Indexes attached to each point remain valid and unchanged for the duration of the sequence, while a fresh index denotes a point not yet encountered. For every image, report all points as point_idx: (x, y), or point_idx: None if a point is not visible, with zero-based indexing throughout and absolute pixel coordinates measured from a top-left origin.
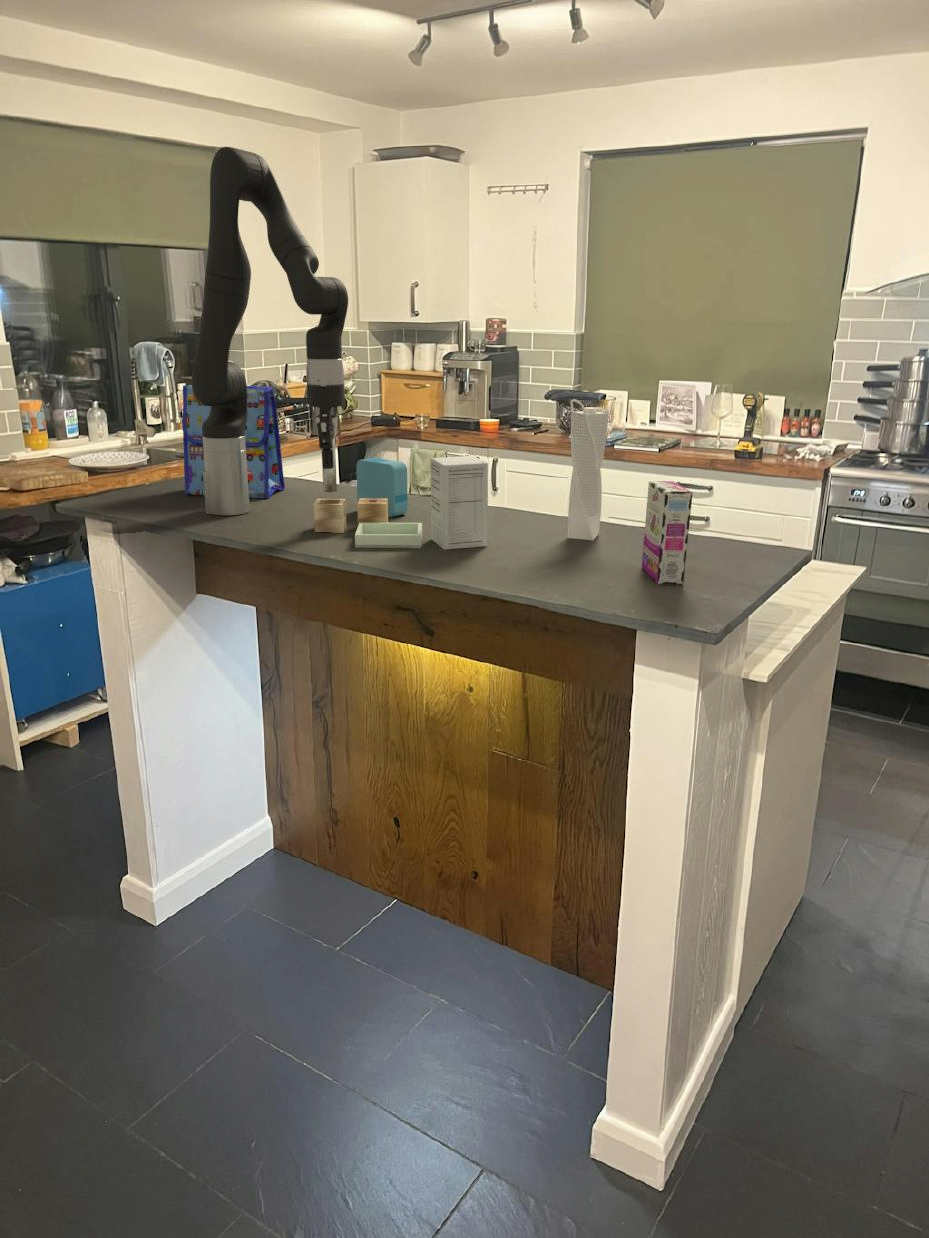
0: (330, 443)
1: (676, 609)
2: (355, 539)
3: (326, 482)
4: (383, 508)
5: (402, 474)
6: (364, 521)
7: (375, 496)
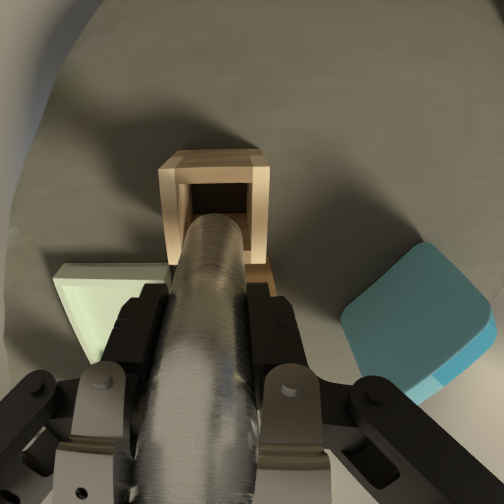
0: (45, 439)
1: (36, 435)
2: (56, 273)
3: (181, 250)
4: None
5: None
6: None
7: (397, 303)
